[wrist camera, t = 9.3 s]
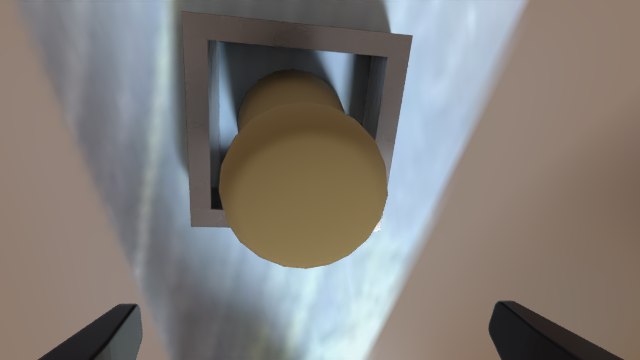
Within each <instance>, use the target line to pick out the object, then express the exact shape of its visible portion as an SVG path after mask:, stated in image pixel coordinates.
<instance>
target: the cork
mask: <svg viewBox="0 0 640 360" xmlns="http://www.w3.org/2000/svg"><path fill="white" fill-rule="evenodd" d="M238 132H239V133H238V134H237V135H236V136H235V138H234V140H233V142H232V144H231V146H230V148H229V150H228V152H227V154H226V156H225V158H224V161H223V163H222V165H221V173H220V183H219V194H220V198H221V202H222V206H223V210H224V214H225V217H226V221H227V223H228V225H229V226H230V228H231V229H232V231H233V232H234V234H235V235H236V237H237V238H238V240H239V241H240V242H241V243H242V244H244V245H245V246H246V247H247V248H249V249H250V250H251V251H252V252H254V253H255V254H256V255H258V256H259V257H261V258H263V259H266V260H268V261H271V262H274V263H276V264H279V265H281V266H284V267H294V268H305V269H307V268H313V267H319V266H324V265H329V264H331V263H333V262H336V261H338V260H340V259H342V258H344V257H346V256H348V255H350V254H351V253H352V252H353V251H354V250H356V249H357V248H358V247H359V246H360V245H361V244H363V243H364V242H365V241H366V240H367V239H368V238H369V236H370V235H371V233H372V232H373V230H374V229H375V227H376V225H377V224H378V222H379V221H380V219H381V218H382V214H383V211H384V207H385V203H386V200H387V196H388V190H387V174H386V166H385V162H384V160H383V158H382V155H381V153H380V150H379V148H378V146H377V143H376V141H375V140H374V139H373V138H372V137H371V136H370V134H369V133H368V132H367V131H366V130H365V129H364V128H363V127H362V126H361V125H360V124H359V122H357V121H356V120H355V119H354V118H352V117H350V116H348V115H346V114H345V113H344V109H343V107H342V105H341V102H340V100H339V98H338V96H337V94H336V93H335V91H334V90H333V89H332V88H331V87H330V86H329V85H328V84H327V83H326V81H324V80H322V79H320V78H319V77H317V76H315V75H313V74H312V73H309V72H304V71H299V70H294V69H291V70H284V71H277V72H273V73H272V74H270V75H268V76H266V77H264V78H262V79H260V80H258V81H257V82H256V84H255V85H254V86H253V87H252V88H251V89H250V90H249V91H248V92H247V93H246V95H245V98H244V100H243V102H242V104H241V106H240V108H239V117H238Z"/></svg>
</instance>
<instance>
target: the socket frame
mask: <svg viewBox="0 0 640 360" xmlns="http://www.w3.org/2000/svg"><path fill="white" fill-rule="evenodd" d="M182 30H183V52H184V75H185V98H186V121H187V144H188V167H189V190H190V213H191V227H228V228H230V226H229V225H228V223H227V221H226V217H225V214H224V210H223V206H222V202H221V198H220V194H219V183H220V145H219V54H218V41H225V42H235V43H246V44H256V45H267V46H277V47H288V48H298V49H309V50H319V51H330V52H340V53H351V54H361V55H371V63H370V71H369V78H368V86H367V93H366V101H365V108H364V116H363V124H362V127H363V128H364V129H365V130H366V131H367V132H368V133H369V134H370V136H371V137H372V138H373V139H374V140H375V141H376V143H377V146H378V148H379V150H380V153H381V155H382V158H383V160H384V162H385V166H386V174H387V186H388V180H389V174H390V168H391V162H392V156H393V150H394V144H395V138H396V132H397V126H398V120H399V114H400V108H401V103H402V97H403V91H404V85H405V79H406V73H407V67H408V61H409V55H410V49H411V43H412V37H413V36H412V35H403V34H393V33H384V32H374V31H365V30H355V29H346V28H336V27H327V26H317V25H308V24H298V23H289V22H279V21H270V20H260V19H251V18H241V17H232V16H222V15H213V14H204V13H194V12H185V11H182ZM382 216H383V214H382ZM381 222H382V218H381V219H380V221H379V222H378V224H377V225H376V227H375V229H374V230H373V231H380V228H381Z"/></svg>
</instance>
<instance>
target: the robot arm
mask: <svg viewBox="0 0 640 360" xmlns="http://www.w3.org/2000/svg"><path fill="white" fill-rule="evenodd" d="M489 334H490V337H491V339H492V341H493V343H494V345H495V347H496V349H497V352H498V354H499V356H500V358H501V360H623V359H622V358H620V357H618V356H616V355H614V354H612V353H610V352H608V351H606V350H604V349H603V348H601V347H599V346H597V345H595V344H593V343H591V342H589V341H588V340H586V339H584V338H582V337H580V336H578V335H577V334H575V333H573V332H571V331H569V330H567V329H565V328H563V327H561V326H559V325H558V324H556V323H554V322H552V321H550V320H548V319H546V318H545V317H543V316H541V315H539V314H537V313H535V312H533V311H531V310H529V309H527V308H526V307H524V306H522V305H520V304H518V303H516V302H514V301H498V302H497V303H496V304H495V306H494V309H493V312H492V315H491V319H490V322H489ZM141 341H142V323H141V313H140V307H139V305H137V304H119V305H117V306H115V307H114V308H112V309H111V310H109V311H108V312H106V313H105V314H103V315H102V316H101V317H99V318H98V319H96V320H95V321H93V322H92V323H90V324H89V325H87V326H86V327H85V328H83V329H82V330H80V331H79V332H77V333H76V334H74V335H73V336H72V337H70V338H68V339H67V340H66V341H64V342H63V343H61V344H60V345H58V346H57V347H55V348H54V349H53V350H51V351H50V352H48V353H47V354H45V355H44V356H42V357H41V358H39V359H38V360H136V357H137V354H138V351H139V347H140V344H141Z"/></svg>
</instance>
